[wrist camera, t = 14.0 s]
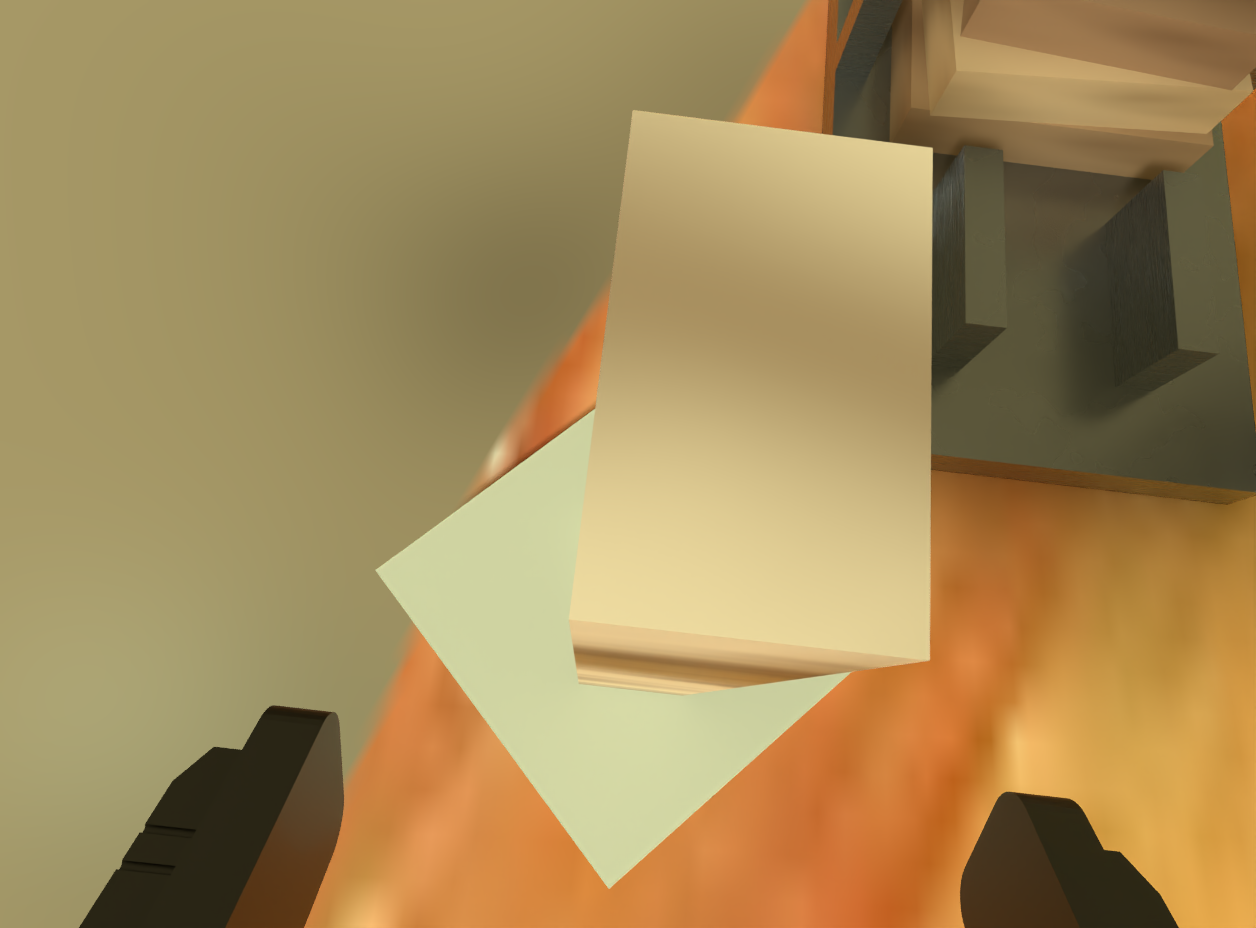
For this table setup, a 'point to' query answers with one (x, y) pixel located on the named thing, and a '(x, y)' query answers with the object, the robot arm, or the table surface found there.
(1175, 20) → the offcut stack
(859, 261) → the beige wooden bar
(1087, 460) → the offcut rack
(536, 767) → the mat
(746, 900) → the table surface
